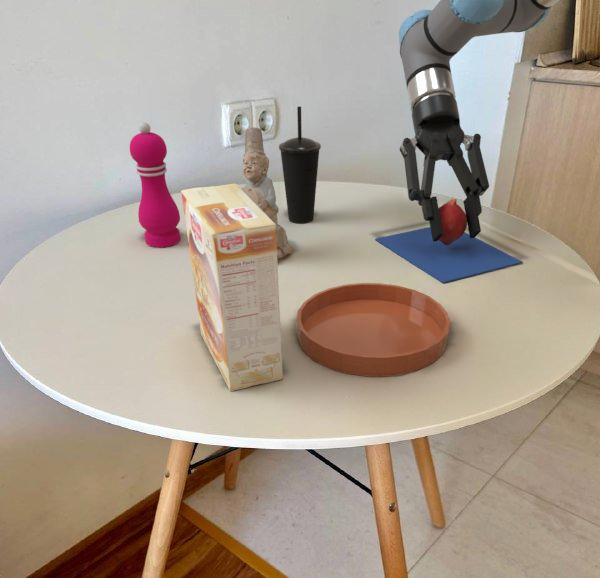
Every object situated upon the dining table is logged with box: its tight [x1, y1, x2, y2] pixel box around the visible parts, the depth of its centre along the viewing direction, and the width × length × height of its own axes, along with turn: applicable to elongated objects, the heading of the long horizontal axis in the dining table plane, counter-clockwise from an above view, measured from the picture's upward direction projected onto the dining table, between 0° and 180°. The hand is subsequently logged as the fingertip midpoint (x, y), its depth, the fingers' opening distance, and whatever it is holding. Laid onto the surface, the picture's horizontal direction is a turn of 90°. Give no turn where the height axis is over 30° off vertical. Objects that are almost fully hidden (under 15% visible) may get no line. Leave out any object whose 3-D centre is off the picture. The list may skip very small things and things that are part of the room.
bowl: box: [296, 282, 451, 377], centre depth 79 cm, size 20×20×3 cm
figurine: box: [240, 127, 293, 260], centre depth 96 cm, size 9×8×20 cm
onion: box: [438, 197, 468, 245], centre depth 99 cm, size 6×6×8 cm
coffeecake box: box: [180, 183, 284, 392], centre depth 70 cm, size 15×7×20 cm, turn 21°
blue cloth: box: [374, 226, 524, 284], centre depth 102 cm, size 20×16×1 cm
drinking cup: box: [278, 106, 322, 224], centre depth 109 cm, size 8×8×20 cm
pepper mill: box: [129, 122, 181, 248], centre depth 102 cm, size 7×7×20 cm
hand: (456, 236), depth 97 cm, fingers closed on onion, 6 cm apart
